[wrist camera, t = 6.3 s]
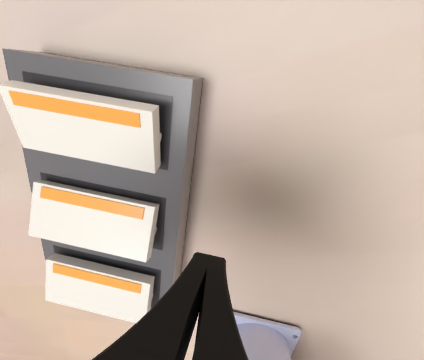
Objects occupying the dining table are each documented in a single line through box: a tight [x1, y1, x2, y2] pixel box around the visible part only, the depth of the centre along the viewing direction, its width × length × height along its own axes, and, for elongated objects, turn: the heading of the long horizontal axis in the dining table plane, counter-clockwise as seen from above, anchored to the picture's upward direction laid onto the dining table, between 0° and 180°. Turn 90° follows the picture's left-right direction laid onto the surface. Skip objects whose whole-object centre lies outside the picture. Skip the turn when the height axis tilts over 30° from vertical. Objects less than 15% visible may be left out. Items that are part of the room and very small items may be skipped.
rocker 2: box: [45, 253, 155, 323], centre depth 21 cm, size 4×9×1 cm, turn 82°
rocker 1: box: [0, 80, 162, 174], centre depth 15 cm, size 4×9×1 cm, turn 81°
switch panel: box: [3, 49, 203, 308], centre depth 20 cm, size 21×12×3 cm, turn 172°
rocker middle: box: [28, 180, 160, 262], centre depth 18 cm, size 4×9×1 cm, turn 82°
